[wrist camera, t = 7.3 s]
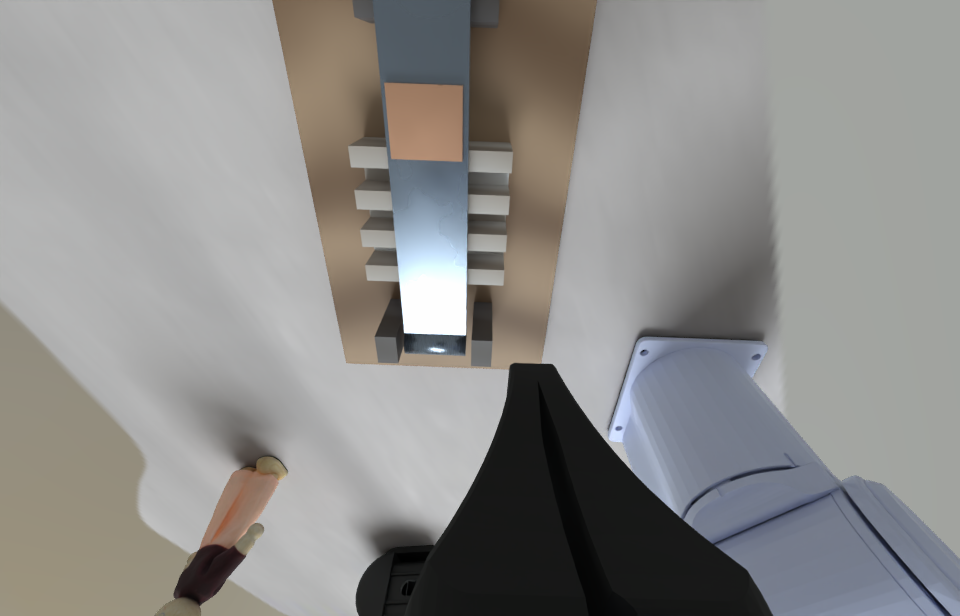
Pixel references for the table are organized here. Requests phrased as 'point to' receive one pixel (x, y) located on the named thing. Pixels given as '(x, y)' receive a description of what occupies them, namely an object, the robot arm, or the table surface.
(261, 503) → the grandmother figurine
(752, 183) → the table surface
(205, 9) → the table surface
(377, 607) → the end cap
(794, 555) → the robot arm
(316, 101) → the base
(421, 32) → the bar
